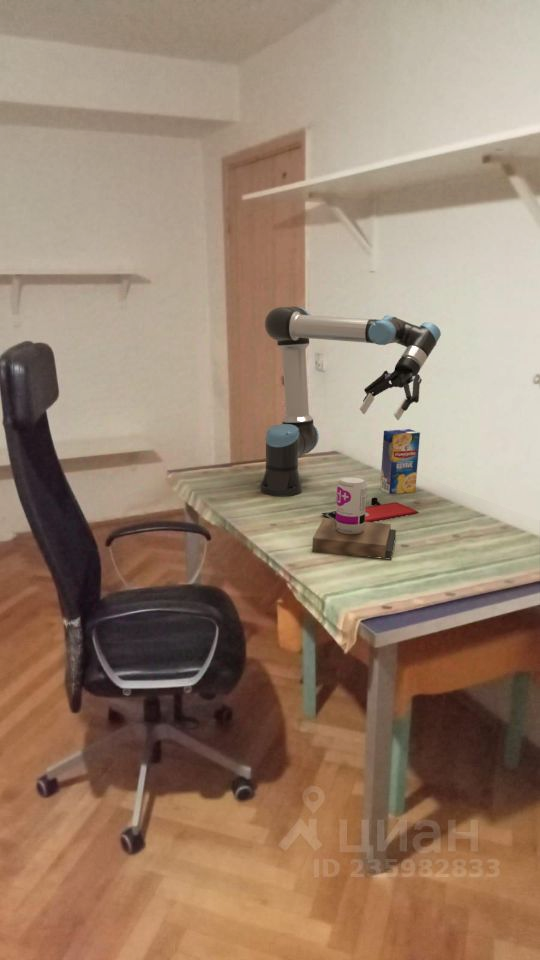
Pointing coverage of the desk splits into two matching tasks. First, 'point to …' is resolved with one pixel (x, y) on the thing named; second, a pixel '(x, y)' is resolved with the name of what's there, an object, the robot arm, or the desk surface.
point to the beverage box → (399, 461)
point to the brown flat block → (355, 540)
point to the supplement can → (351, 505)
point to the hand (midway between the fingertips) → (378, 414)
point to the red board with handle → (381, 511)
